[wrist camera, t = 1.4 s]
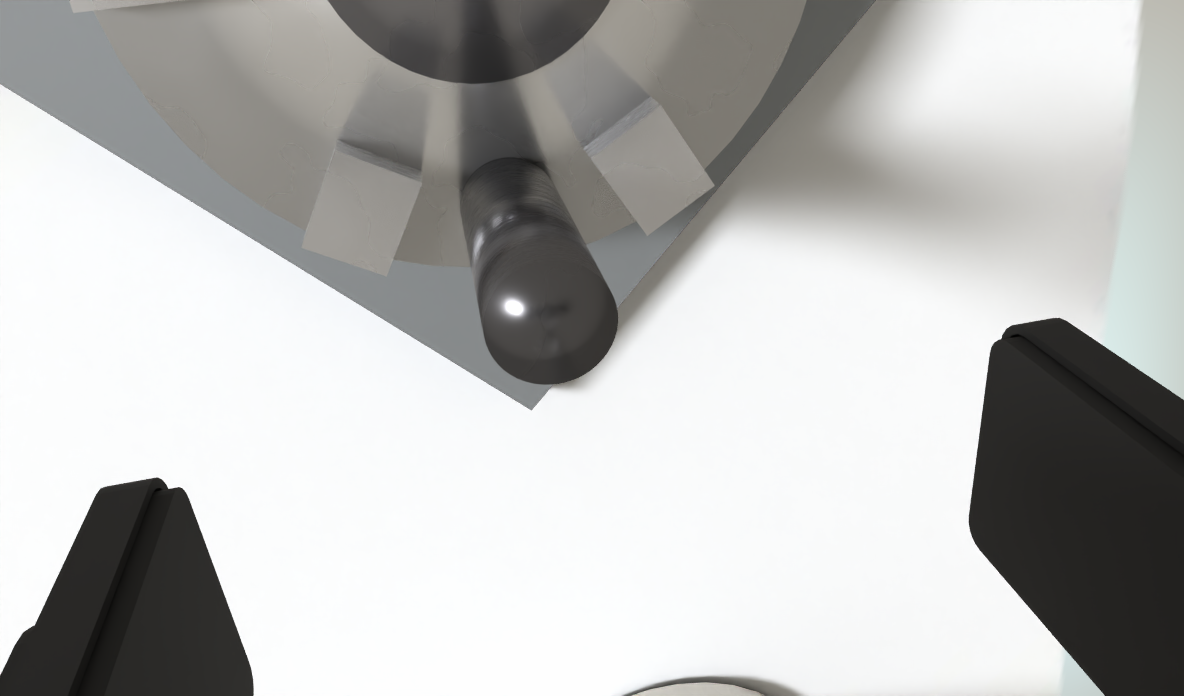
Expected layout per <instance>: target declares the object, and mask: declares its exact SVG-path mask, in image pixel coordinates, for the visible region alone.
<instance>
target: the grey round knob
mask: <svg viewBox="0 0 1184 696" xmlns="http://www.w3.org/2000/svg"><path fill="white" fill-rule="evenodd" d="M806 1H807V0H69V2H70V5H71V8H72V11H73V13H78V12H86V11H94V13H95V15H96V17H97V19H98V21H99V23H100V24H101V26H102V28H103V30H104V32H105V34H106V36H107V38H108V40H109V41H110V43H111V45H112V47H113V49H114V51H115V53H116V55H117V57H118V58H119V60H120V61H121V63H122V64H123V66H124V67H125V69H126V70H127V72H128V73H129V75H130V76H131V77H132V79H133V80H134V82H135V83H136V85H137V86H138V88H139V89H140V91H141V92H142V93H143V95H144V96H145V98H146V99H147V101H148V102H149V104H150V105H151V106H152V107H153V108H154V109H155V111H156V112H157V113H158V114H159V115H160V116H161V117H162V119H163V120H164V121H165V122H166V123H167V124H168V125H169V127H170V128H171V129H172V130H173V131H174V132H175V133H176V135H177V136H178V137H179V138H180V139H181V140H182V142H183V143H184V144H185V145H186V146H187V147H188V148H190V149H191V150H192V151H193V152H194V153H195V154H196V155H197V156H198V157H199V158H201V159H202V160H203V161H204V162H205V163H206V164H207V165H208V166H209V167H210V168H212V169H213V170H214V171H215V172H216V173H217V174H218V175H219V176H220V177H221V178H223V179H224V180H225V181H227V182H228V183H230V184H231V185H232V186H234V187H235V188H237V189H238V190H239V191H241V192H242V193H244V194H245V195H246V196H248V197H249V198H250V199H252V200H253V201H255V202H256V203H257V204H259V205H260V206H262V207H263V208H265V209H267V210H269V211H270V212H272V213H274V214H276V215H278V216H279V217H281V218H283V219H285V220H287V221H288V222H290V223H292V224H294V225H296V226H297V227H299V228H301V229H303V230H305V231H306V232H305V236H304V239H303V243H302V247H301V248H303V249H306V250H309V251H312V252H315V253H318V254H321V255H324V256H327V257H330V258H333V259H336V260H339V261H342V262H345V263H348V264H351V265H354V266H357V267H360V268H363V269H366V270H369V271H372V272H375V273H378V274H381V275H384V276H387V274H388V272H389V269H390V266H391V264H392V261H393V260H396V261H403V262H409V263H416V264H423V265H429V266H450V267H471V272H472V277H473V282H474V287H475V292H476V298H477V303H478V308H479V313H480V318H481V324H482V329H483V334H484V338H485V343H486V346H487V348H488V351H489V352H490V354H491V356H492V358H493V359H494V360H495V361H496V363H497V364H498V365H499V366H500V367H501V368H502V369H503V370H504V371H506V372H507V373H509V374H510V375H512V376H514V377H515V378H517V379H520V380H522V381H525V382H529V383H533V384H541V385H552V384H560V383H564V382H568V381H571V380H573V379H576V378H578V377H580V376H582V375H584V374H585V373H587V372H589V371H590V370H591V369H593V368H594V367H595V366H596V365H597V364H598V363H599V362H600V361H601V360H602V359H603V358H604V356H605V355H606V354H607V352H608V351H609V349H610V347H611V346H612V343H613V341H614V338H615V335H616V331H617V325H618V312H617V306H616V302H615V299H614V297H613V295H612V293H611V291H610V289H609V287H608V285H607V283H606V281H605V279H604V277H603V276H602V274H601V272H600V270H599V268H598V266H597V264H596V262H595V260H594V259H593V257H592V255H591V253H590V251H589V249H588V247H587V245H586V244H589V243H592V242H595V241H598V240H600V239H602V238H604V237H606V236H608V235H610V234H612V233H614V232H616V231H618V230H620V229H622V228H624V227H626V226H628V225H630V224H632V223H634V222H636V221H637V223H638V224H639V225H640V227H641V228H642V229H643V231H644V232H645V234H646V235H647V236H648V235H649V234H651V233H652V232H653V231H655V230H656V229H657V228H659V227H660V226H661V225H663V224H664V223H665V222H667V221H668V220H669V219H671V218H672V217H673V216H675V215H676V214H677V213H679V212H680V211H681V210H683V209H684V208H685V207H687V206H688V205H689V204H691V203H692V202H694V201H695V200H696V199H698V198H699V197H700V196H702V195H703V194H704V193H706V192H707V191H708V190H710V189H711V188H712V187H714V186H715V185H714V184H713V182H712V181H711V179H710V178H709V176H708V175H707V173H706V172H705V170H704V169H705V168H706V167H707V166H708V165H709V164H710V163H711V162H712V161H713V160H714V159H715V158H716V157H717V155H718V154H719V153H720V152H721V151H722V150H723V149H724V148H725V147H726V146H727V145H728V144H729V143H730V142H731V140H732V139H733V138H734V137H735V135H736V134H737V133H738V131H739V130H740V129H741V127H742V126H743V124H744V123H745V122H746V120H747V119H748V118H749V116H750V115H751V114H752V112H753V111H754V110H755V108H756V107H757V105H758V104H759V103H760V101H761V99H762V97H763V96H764V94H765V92H766V90H767V89H768V87H769V85H770V83H771V82H772V80H773V78H774V76H775V75H776V73H777V71H778V69H779V68H780V66H781V64H782V62H783V60H784V57H785V55H786V53H787V50H788V48H789V46H790V43H791V41H792V39H793V37H794V34H795V32H796V30H797V27H798V25H799V23H800V20H801V17H802V14H803V10H804V7H805V4H806Z"/></svg>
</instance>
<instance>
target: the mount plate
mask: <svg viewBox="0 0 1184 696" xmlns="http://www.w3.org/2000/svg"><path fill="white" fill-rule="evenodd" d="M875 1H876V0H807V1H806V4H805V7H804V10H803V14H802V17H801V20H800V23H799V25H798V27H797V30H796V32H795V34H794V37H793V39H792V41H791V43H790V46H789V48H788V50H787V53H786V55H785V57H784V60H783V62H782V64H781V66H780V68H779V69H778V71H777V73H776V75H775V76H774V78H773V80H772V82H771V83H770V85H769V87H768V89H767V90H766V92H765V94H764V96H763V97H762V99H761V101H760V103H759V104H758V105H757V107H756V108H755V110H754V111H753V112H752V114H751V115H750V116H749V118H748V119H747V120H746V122H745V123H744V124H743V126H742V127H741V129H740V130H739V131H738V133H737V134H736V135H735V137H734V138H733V139H732V140H731V142H730V143H729V144H728V145H727V146H726V147H725V148H724V149H723V150H722V151H721V152H720V153H719V154H718V155H717V157H716V158H715V159H714V160H713V161H712V162H711V163H710V164H709V165H708V166H707V167H706V168H705V169H704V170H705V172H706V173H707V175H708V176H709V178H710V179H711V181H712V182H713V184H714V185H715V186H714V187H712V188H711V189H710V190H708V191H707V192H706V193H704V194H703V195H702V196H700V197H699V198H698V199H696V200H695V201H694V202H692V203H691V204H689V205H688V206H687V207H685V208H684V209H683V210H681V211H680V212H679V213H677V214H676V215H675V216H673V217H672V218H671V219H669V220H668V221H667V222H665V223H664V224H663V225H661V226H660V227H659V228H657V229H656V230H655V231H653V232H652V233H651V234H649V235H648V236H647V235H646V234H645V232H644V231H643V229H642V228H641V227H640V225H639V224H638V223H637V221H636V222H634V223H632V224H630V225H628V226H626V227H624V228H622V229H620V230H618V231H616V232H614V233H612V234H610V235H608V236H606V237H604V238H602V239H600V240H598V241H595V242H592V243H589V244H586V245H587V247H588V249H589V251H590V253H591V255H592V257H593V259H594V260H595V262H596V264H597V266H598V268H599V270H600V272H601V274H602V276H603V277H604V279H605V281H606V283H607V285H608V287H609V289H610V291H611V293H612V295H613V297H614V299H615V302H616V306H617V308H618V307H619V306H620V304H621V303H622V302H623V301H624V300H625V298H626V297H627V296H628V295H629V294H630V293H631V291H632V290H633V289H634V288H635V287H636V285H637V284H638V283H639V282H640V281H641V279H642V278H643V277H644V276H645V275H646V273H647V272H648V271H649V270H650V269H651V267H652V266H653V265H654V264H655V263H656V262H657V260H658V259H659V258H660V257H661V256H662V254H663V253H664V252H665V251H666V250H667V248H668V247H669V246H670V245H671V244H672V242H673V241H674V240H675V239H676V238H677V237H678V235H679V234H680V233H681V232H682V231H683V229H684V228H685V227H686V226H687V225H688V223H689V222H690V221H691V220H692V219H693V217H694V216H695V215H696V214H697V213H698V211H699V210H700V209H701V208H702V207H703V206H704V204H705V203H706V202H707V201H708V200H709V198H710V197H711V196H712V195H713V194H714V192H715V191H716V190H717V189H718V188H719V186H720V185H721V184H722V183H723V182H724V180H725V179H726V178H727V177H728V176H729V175H730V173H731V172H732V171H733V170H734V169H735V167H736V166H737V165H738V164H739V163H740V161H741V160H742V159H743V158H744V157H745V155H746V154H747V153H748V152H749V151H750V150H751V148H752V147H753V146H754V145H755V144H756V142H757V141H758V140H759V139H760V138H761V136H762V135H763V134H764V133H765V132H766V130H767V129H768V128H769V127H770V126H771V124H772V123H773V122H774V121H775V120H776V119H777V117H778V116H779V115H780V114H781V113H782V111H783V110H784V109H785V108H786V107H787V105H788V104H789V103H790V102H791V101H792V99H793V98H794V97H795V96H796V95H797V93H798V92H799V91H800V90H801V89H802V88H803V86H804V85H805V84H806V83H807V82H808V80H809V79H810V78H811V77H812V76H813V74H814V73H815V72H816V71H817V70H818V68H819V67H820V66H821V65H822V64H823V62H824V61H825V60H826V59H827V58H828V57H829V55H830V54H831V53H832V52H833V51H834V49H835V48H836V47H837V46H838V45H839V43H840V42H841V41H842V40H843V39H844V37H845V36H846V35H847V34H848V33H849V32H850V30H851V29H852V28H853V27H854V26H855V24H856V23H857V22H858V21H859V20H860V18H861V17H862V16H863V15H864V14H865V12H866V11H867V10H868V9H869V8H870V6H871V5H872V4H873V3H874V2H875ZM0 84H1V85H3V86H4V87H6V88H8V89H9V90H11V91H12V92H14V93H16V94H17V95H19V96H21V97H22V98H24V99H25V100H27V101H29V102H30V103H32V104H34V105H35V106H37V107H38V108H40V109H42V110H43V111H45V112H47V113H48V114H50V115H51V116H53V117H55V118H56V119H58V120H60V121H61V122H63V123H64V124H66V125H68V126H69V127H71V128H73V129H74V130H76V131H78V132H79V133H81V134H82V135H84V136H86V137H87V138H89V139H91V140H92V141H94V142H95V143H97V144H99V145H100V146H102V147H104V148H105V149H107V150H108V151H110V152H112V153H113V154H115V155H117V156H118V157H120V158H121V159H123V160H125V161H126V162H128V163H130V164H131V165H133V166H134V167H136V168H138V169H139V170H141V171H143V172H144V173H146V174H148V175H149V176H151V177H152V178H154V179H156V180H157V181H159V182H161V183H162V184H164V185H165V186H167V187H169V188H170V189H172V190H174V191H175V192H177V193H178V194H180V195H182V196H183V197H185V198H187V199H188V200H190V201H191V202H193V203H195V204H196V205H198V206H200V207H201V208H203V209H204V210H206V211H208V212H209V213H211V214H213V215H214V216H216V217H218V218H219V219H221V220H222V221H224V222H226V223H227V224H229V225H231V226H232V227H234V228H235V229H237V230H239V231H240V232H242V233H244V234H245V235H247V236H248V237H250V238H252V239H253V240H255V241H257V242H258V243H260V244H261V245H263V246H265V247H266V248H268V249H270V250H271V251H273V252H274V253H276V254H278V255H279V256H281V257H283V258H284V259H286V260H288V261H289V262H291V263H292V264H294V265H296V266H297V267H299V268H301V269H302V270H304V271H305V272H307V273H309V274H310V275H312V276H314V277H315V278H317V279H318V280H320V281H322V282H323V283H325V284H327V285H328V286H330V287H331V288H333V289H335V290H336V291H338V292H340V293H341V294H343V295H344V296H346V297H348V298H349V299H351V300H353V301H354V302H356V303H358V304H359V305H361V306H362V307H364V308H366V309H367V310H369V311H371V312H372V313H374V314H375V315H377V316H379V317H380V318H382V319H384V320H385V321H387V322H388V323H390V324H392V325H393V326H395V327H397V328H398V329H400V330H401V331H403V332H405V333H406V334H408V335H410V336H411V337H413V338H415V339H416V340H418V341H419V342H421V343H423V344H424V345H426V346H428V347H429V348H431V349H432V350H434V351H436V352H437V353H439V354H441V355H442V356H444V357H445V358H447V359H449V360H450V361H452V362H454V363H455V364H457V365H458V366H460V367H462V368H463V369H465V370H467V371H468V372H470V373H471V374H473V375H475V376H476V377H478V378H480V379H481V380H483V381H485V382H486V383H488V384H489V385H491V386H493V387H494V388H496V389H498V390H499V391H501V392H502V393H504V394H506V395H507V396H509V397H511V398H512V399H514V400H515V401H517V402H519V403H520V404H522V405H524V406H525V407H527V408H528V409H530V410H532V409H533V408H534V407H535V406H536V405H537V403H538V402H539V401H540V400H541V399H542V397H543V396H544V395H545V394H546V393H547V391H548V390H549V389H550V388H551V387H552V385H553V384H552V385H541V384H533V383H529V382H525V381H522V380H520V379H517V378H515V377H514V376H512V375H510V374H509V373H507V372H506V371H504V370H503V369H502V368H501V367H500V366H499V365H498V364H497V363H496V361H495V360H494V359H493V358H492V356H491V354H490V352H489V351H488V348H487V346H486V343H485V338H484V334H483V329H482V324H481V318H480V313H479V308H478V303H477V298H476V292H475V287H474V282H473V277H472V272H471V267H450V266H429V265H423V264H416V263H409V262H403V261H396V260H393V261H392V264H391V266H390V269H389V272H388V274H387V276H384V275H381V274H378V273H375V272H372V271H369V270H366V269H363V268H360V267H357V266H354V265H351V264H348V263H345V262H342V261H339V260H336V259H333V258H330V257H327V256H324V255H321V254H318V253H315V252H312V251H309V250H306V249H303V248H301V247H302V243H303V239H304V236H305V232H306V231H305V230H303V229H301V228H299V227H297V226H296V225H294V224H292V223H290V222H288V221H287V220H285V219H283V218H281V217H279V216H278V215H276V214H274V213H272V212H270V211H269V210H267V209H265V208H263V207H262V206H260V205H259V204H257V203H256V202H255V201H253V200H252V199H250V198H249V197H248V196H246V195H245V194H244V193H242V192H241V191H239V190H238V189H237V188H235V187H234V186H232V185H231V184H230V183H228V182H227V181H225V180H224V179H223V178H221V177H220V176H219V175H218V174H217V173H216V172H215V171H214V170H213V169H212V168H210V167H209V166H208V165H207V164H206V163H205V162H204V161H203V160H202V159H201V158H199V157H198V156H197V155H196V154H195V153H194V152H193V151H192V150H191V149H190V148H188V147H187V146H186V145H185V144H184V143H183V142H182V140H181V139H180V138H179V137H178V136H177V135H176V133H175V132H174V131H173V130H172V129H171V128H170V127H169V125H168V124H167V123H166V122H165V121H164V120H163V119H162V117H161V116H160V115H159V114H158V113H157V112H156V111H155V109H154V108H153V107H152V106H151V105H150V104H149V102H148V101H147V99H146V98H145V96H144V95H143V93H142V92H141V91H140V89H139V88H138V86H137V85H136V83H135V82H134V80H133V79H132V77H131V76H130V75H129V73H128V72H127V70H126V69H125V67H124V66H123V64H122V63H121V61H120V60H119V58H118V57H117V55H116V53H115V51H114V49H113V47H112V45H111V43H110V41H109V40H108V38H107V36H106V34H105V32H104V30H103V28H102V26H101V24H100V23H99V21H98V19H97V17H96V15H95V13H94V11H86V12H78V13H73V11H72V8H71V5H70V2H69V0H0Z"/></svg>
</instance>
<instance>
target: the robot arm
mask: <svg viewBox="0 0 1184 696" xmlns="http://www.w3.org/2000/svg"><path fill="white" fill-rule="evenodd" d="M969 527H970V532H971V535H972V538H973V540H974V542H975V544H976V545H977V547H978V548H979V550H980V551H981V552H982V553H983V554H984V555H985V557H986V558H987V559H988V560H989V561H990V562H991V564H992V565H993V566H994V567H995V568H996V569H997V571H998V572H999V573H1000V574H1001V575H1002V576H1003V578H1004V579H1005V580H1006V581H1007V582H1008V583H1009V585H1010V586H1011V587H1012V588H1013V589H1014V590H1015V592H1016V593H1017V594H1018V595H1019V596H1020V597H1021V599H1022V600H1023V601H1024V602H1025V603H1026V604H1027V605H1028V607H1029V608H1030V609H1031V610H1032V611H1033V612H1034V614H1035V615H1036V616H1037V617H1038V618H1039V619H1040V621H1041V622H1042V623H1043V624H1044V625H1045V626H1046V628H1047V629H1048V630H1049V631H1050V632H1051V633H1052V635H1053V636H1054V637H1055V638H1056V639H1057V640H1058V642H1059V643H1060V644H1061V645H1062V646H1063V647H1064V649H1065V650H1066V651H1067V652H1068V653H1069V654H1070V655H1071V656H1072V658H1073V659H1074V660H1075V661H1076V662H1077V664H1078V665H1079V666H1080V667H1081V668H1082V669H1083V671H1084V672H1085V673H1086V674H1087V675H1088V676H1089V678H1090V679H1091V680H1092V681H1093V682H1094V683H1095V684H1096V686H1097V687H1098V688H1099V689H1100V690H1101V692H1102V693H1103V694H1104V695H1105V696H1184V400H1183V399H1181V398H1180V397H1178V396H1177V395H1175V394H1174V393H1172V392H1171V391H1170V390H1168V389H1167V388H1165V387H1164V386H1162V385H1161V384H1159V383H1158V382H1156V381H1155V380H1153V379H1152V378H1150V377H1149V376H1147V375H1146V374H1144V373H1143V372H1141V371H1139V370H1138V369H1137V368H1135V367H1134V366H1132V365H1131V364H1129V363H1128V362H1127V361H1125V360H1124V359H1122V358H1121V357H1119V356H1117V355H1116V354H1115V353H1113V352H1111V351H1110V350H1109V349H1107V348H1106V347H1104V346H1103V345H1101V344H1100V343H1098V342H1097V341H1095V340H1094V339H1092V338H1091V337H1089V336H1088V335H1086V334H1085V333H1084V332H1082V331H1081V330H1079V329H1078V328H1076V327H1075V326H1073V325H1072V324H1070V323H1069V322H1067V321H1065V320H1063V319H1061V318H1051V319H1046V320H1040V321H1034V322H1029V323H1023V324H1017V325H1012V326H1010V327H1009V328H1007V329H1006V330H1005V332H1004V334H1003V335H1002V339H1001V340H998V341H996V342H995V343H994V344H993V346H992V348H991V352H990V357H989V365H988V373H987V380H986V388H985V396H984V404H983V411H982V419H981V427H980V434H979V442H978V450H977V458H976V465H975V473H974V481H973V488H972V496H971V504H970V512H969ZM0 696H253V677H252V671H251V667H250V664H249V661H248V658H247V655H246V653H245V650H244V647H243V645H242V642H241V639H240V636H239V634H238V631H237V628H236V626H235V623H234V620H233V617H232V615H231V612H230V609H229V607H228V604H227V601H226V598H225V596H224V593H223V590H222V588H221V585H220V582H219V579H218V577H217V574H216V571H215V569H214V566H213V563H212V560H211V558H210V555H209V552H208V550H207V547H206V544H205V541H204V539H203V536H202V533H201V531H200V528H199V525H198V522H197V520H196V517H195V514H194V512H193V509H192V506H191V503H190V501H189V498H188V496H187V494H186V492H185V491H184V490H183V489H182V488H180V487H178V488H172V489H168V487H167V485H166V484H165V483H164V481H163V480H162V479H160V478H152V479H146V480H141V481H135V482H129V483H124V484H118V485H112V486H107V487H103V488H101V489H100V490H99V491H98V493H97V494H96V496H95V498H94V500H93V502H92V505H91V507H90V509H89V511H88V513H87V515H86V517H85V520H84V522H83V524H82V526H81V528H80V530H79V532H78V534H77V537H76V539H75V541H74V543H73V545H72V547H71V549H70V551H69V554H68V556H67V558H66V560H65V562H64V564H63V566H62V569H61V571H60V573H59V575H58V577H57V579H56V581H55V583H54V586H53V588H52V590H51V592H50V594H49V596H48V598H47V601H46V603H45V605H44V607H43V609H42V611H41V613H40V615H39V618H38V620H37V622H36V624H35V626H32V627H31V628H29V629H28V630H26V631H25V632H23V634H22V635H21V637H20V638H19V640H18V641H17V643H16V644H15V646H14V648H13V650H12V652H11V655H10V657H9V659H8V661H7V663H6V665H5V667H4V669H3V671H2V673H1V675H0ZM632 696H764V695H763V694H761V693H759V692H756V691H753V690H749V689H746V688H742V687H739V686H735V685H728V684H718V683H709V682H703V683H684V684H674V685H669V686H664V687H659V688H654V689H649V690H646V691H643V692H640V693H637V694H634V695H632Z"/></svg>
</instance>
